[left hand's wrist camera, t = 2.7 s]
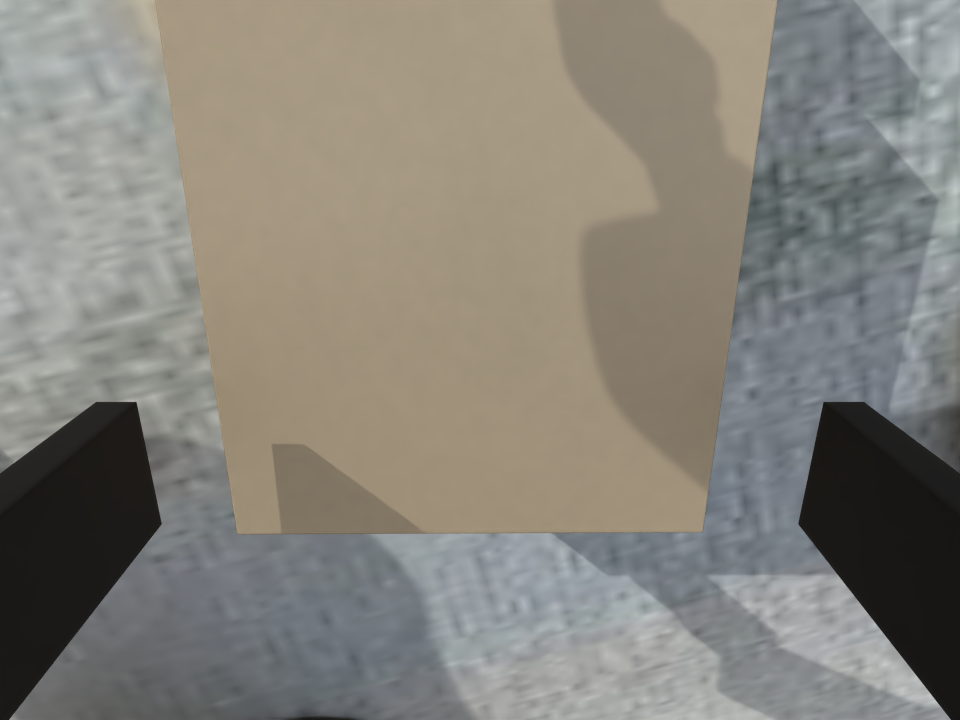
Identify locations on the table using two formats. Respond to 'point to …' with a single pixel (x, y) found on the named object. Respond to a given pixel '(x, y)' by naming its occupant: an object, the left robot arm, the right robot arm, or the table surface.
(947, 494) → the left robot arm
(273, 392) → the tan box
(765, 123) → the table surface
